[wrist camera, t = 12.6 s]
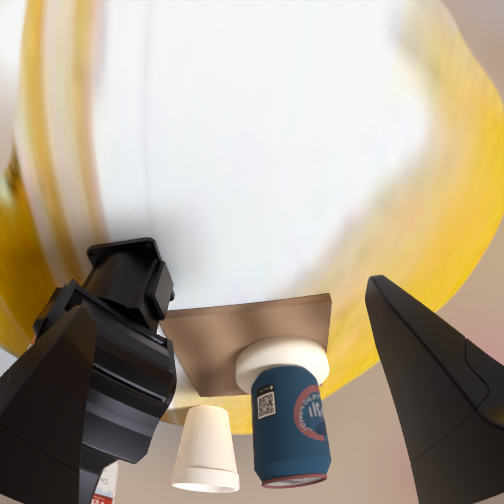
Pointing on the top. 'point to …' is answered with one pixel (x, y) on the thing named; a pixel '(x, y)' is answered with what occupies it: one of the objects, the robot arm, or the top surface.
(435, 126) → the top surface
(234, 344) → the plinth board
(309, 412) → the soda can
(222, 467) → the foam cup
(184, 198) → the top surface
